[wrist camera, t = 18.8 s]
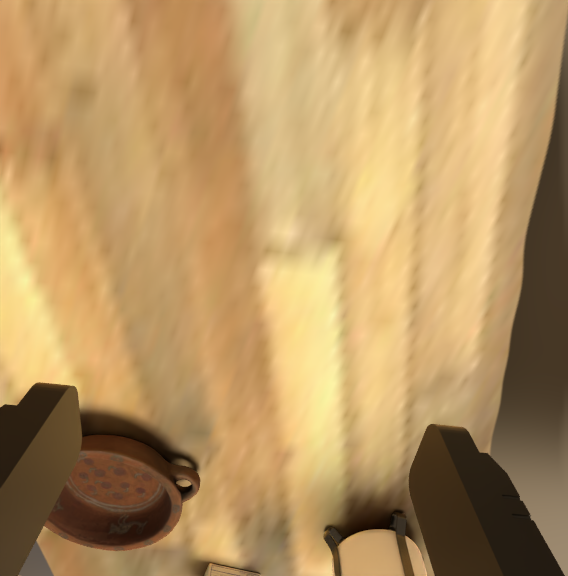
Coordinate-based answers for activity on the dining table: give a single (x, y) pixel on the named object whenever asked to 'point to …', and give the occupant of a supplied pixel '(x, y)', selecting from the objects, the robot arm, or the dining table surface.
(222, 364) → the dining table surface
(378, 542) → the coffee press
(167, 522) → the dish
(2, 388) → the dining table surface
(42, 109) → the dining table surface
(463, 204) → the dining table surface
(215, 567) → the medicine box
